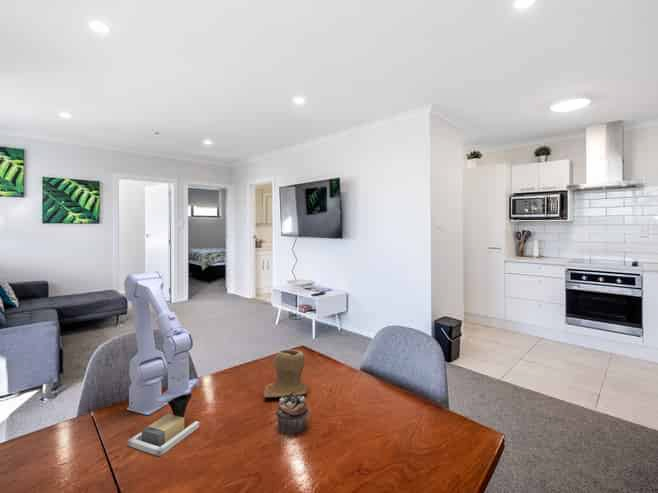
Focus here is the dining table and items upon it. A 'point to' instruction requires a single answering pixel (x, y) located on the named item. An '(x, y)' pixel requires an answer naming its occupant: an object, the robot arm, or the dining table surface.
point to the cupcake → (292, 414)
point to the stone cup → (287, 374)
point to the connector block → (163, 430)
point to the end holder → (159, 451)
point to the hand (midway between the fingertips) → (179, 419)
